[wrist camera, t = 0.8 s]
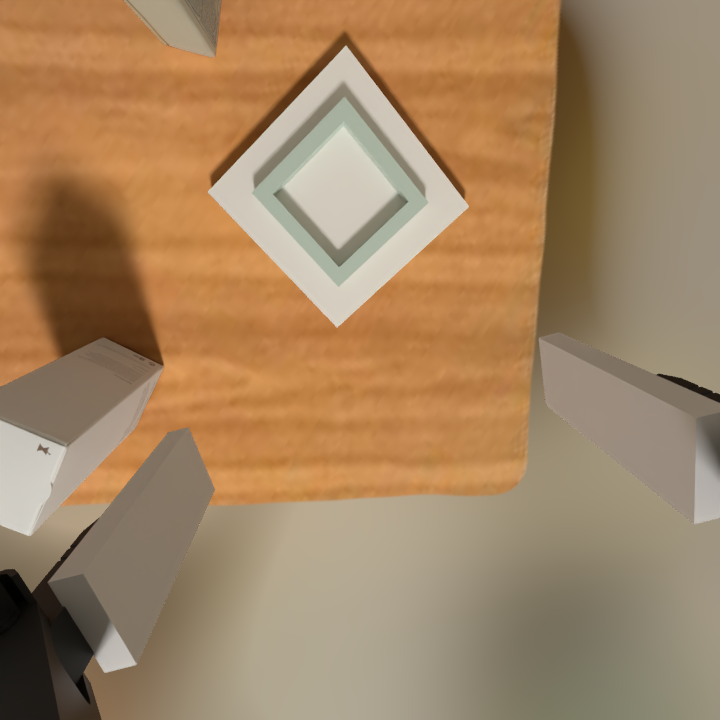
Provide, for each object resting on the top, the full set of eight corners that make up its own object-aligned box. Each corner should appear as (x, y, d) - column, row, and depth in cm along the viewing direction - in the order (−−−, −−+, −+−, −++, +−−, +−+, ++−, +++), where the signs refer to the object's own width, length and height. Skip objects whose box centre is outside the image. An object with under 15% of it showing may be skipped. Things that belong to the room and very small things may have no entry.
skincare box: (104, 334, 39) (-40, 394, 24) (170, 367, 40) (71, 443, 25) (73, 405, 41) (-78, 501, 26) (137, 434, 42) (27, 542, 27)
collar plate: (212, 193, 36) (201, 189, 33) (345, 53, 33) (346, 36, 30) (337, 324, 40) (337, 330, 37) (464, 207, 37) (474, 205, 34)
